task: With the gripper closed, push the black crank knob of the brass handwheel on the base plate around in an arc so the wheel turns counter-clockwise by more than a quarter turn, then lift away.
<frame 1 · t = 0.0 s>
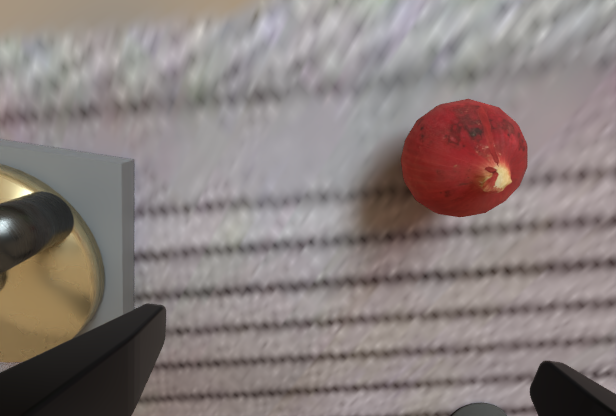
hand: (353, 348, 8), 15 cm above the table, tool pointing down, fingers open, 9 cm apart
onion: (434, 149, 21), on the table
base plate: (25, 250, 24), on the table
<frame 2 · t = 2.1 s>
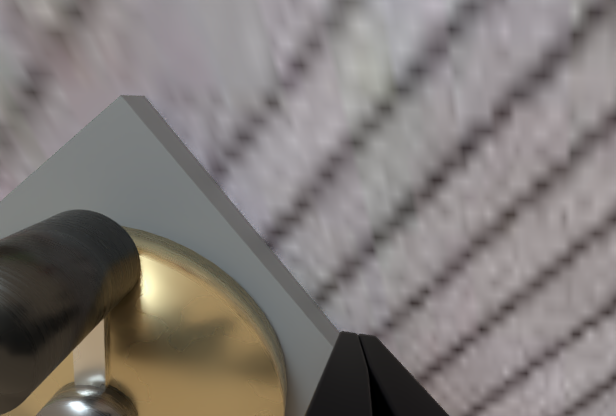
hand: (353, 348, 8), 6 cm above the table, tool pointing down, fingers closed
base plate: (141, 349, 15), on the table
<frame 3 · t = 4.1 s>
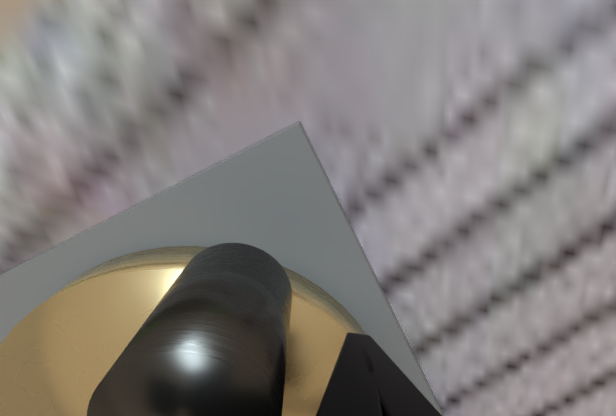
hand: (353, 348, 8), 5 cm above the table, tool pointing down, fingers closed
base plate: (218, 374, 14), on the table
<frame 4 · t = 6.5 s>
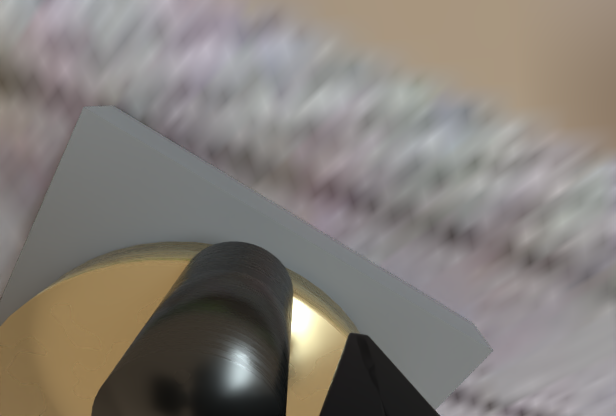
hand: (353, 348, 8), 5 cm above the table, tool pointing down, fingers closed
base plate: (211, 370, 14), on the table
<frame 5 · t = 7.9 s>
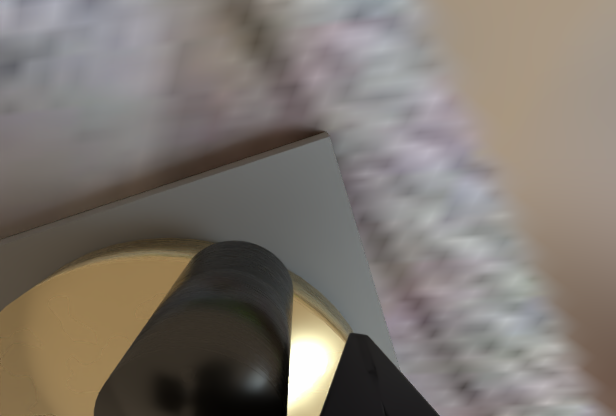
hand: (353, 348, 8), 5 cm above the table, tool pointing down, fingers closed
base plate: (204, 368, 14), on the table
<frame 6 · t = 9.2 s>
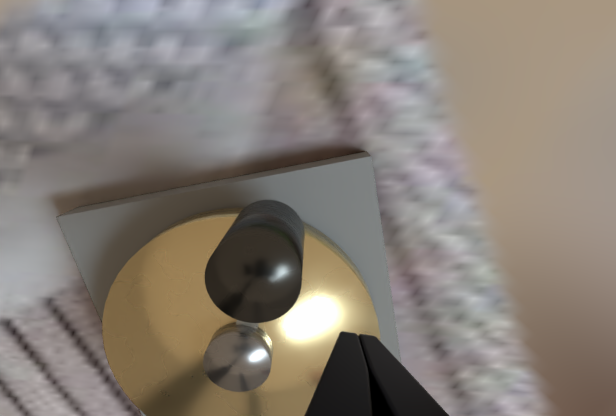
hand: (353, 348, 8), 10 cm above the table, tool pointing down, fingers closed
handwheel: (235, 369, 15), point 5 cm above the table, hinge at 109.4°
base plate: (253, 309, 19), on the table
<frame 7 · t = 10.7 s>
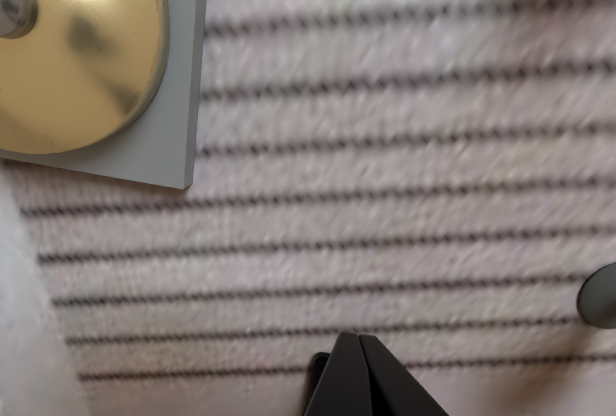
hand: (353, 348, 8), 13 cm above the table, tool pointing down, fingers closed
sundae: (615, 293, 22), on the table
base plate: (57, 17, 18), on the table
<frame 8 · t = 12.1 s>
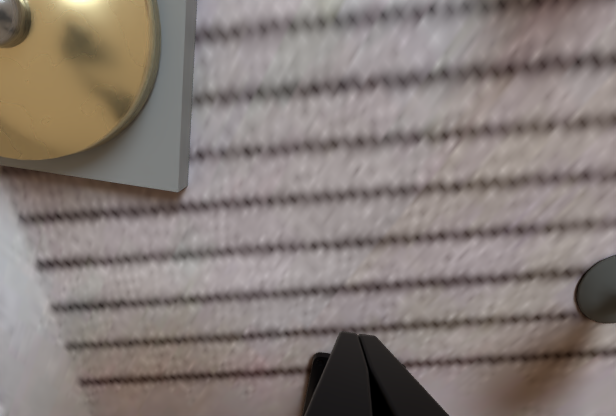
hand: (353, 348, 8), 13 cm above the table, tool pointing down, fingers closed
sundae: (613, 287, 22), on the table
base plate: (51, 26, 18), on the table
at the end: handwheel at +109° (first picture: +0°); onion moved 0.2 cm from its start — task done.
